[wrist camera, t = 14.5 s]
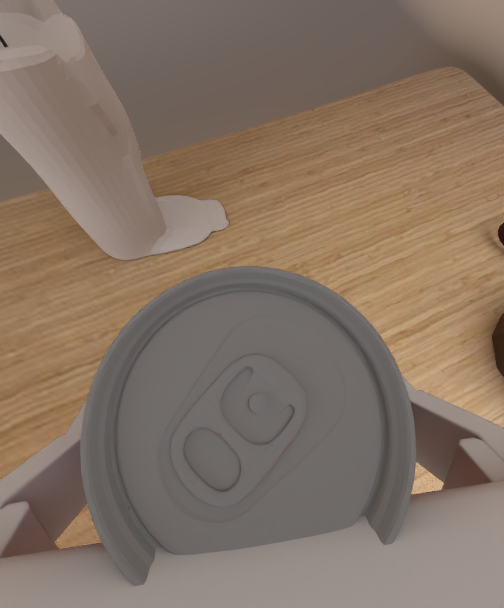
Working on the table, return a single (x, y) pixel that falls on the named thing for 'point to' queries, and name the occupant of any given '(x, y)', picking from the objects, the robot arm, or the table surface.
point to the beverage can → (244, 421)
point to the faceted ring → (499, 344)
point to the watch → (501, 233)
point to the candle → (86, 138)
